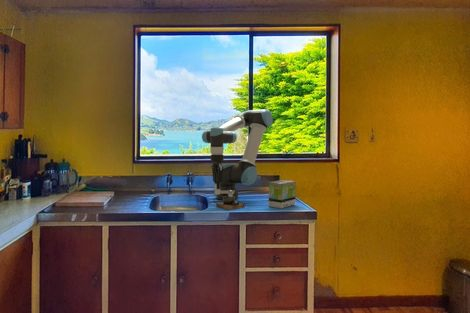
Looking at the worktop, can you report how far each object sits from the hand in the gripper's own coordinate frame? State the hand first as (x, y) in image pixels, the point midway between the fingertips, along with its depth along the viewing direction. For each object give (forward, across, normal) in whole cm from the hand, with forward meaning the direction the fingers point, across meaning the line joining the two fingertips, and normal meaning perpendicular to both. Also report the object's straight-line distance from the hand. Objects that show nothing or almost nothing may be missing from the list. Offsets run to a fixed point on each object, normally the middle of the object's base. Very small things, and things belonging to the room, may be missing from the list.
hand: (217, 194), depth 205 cm
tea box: (+8, -12, -37) cm, 40 cm away
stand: (+8, -2, -7) cm, 11 cm away
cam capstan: (+6, 0, -4) cm, 7 cm away
